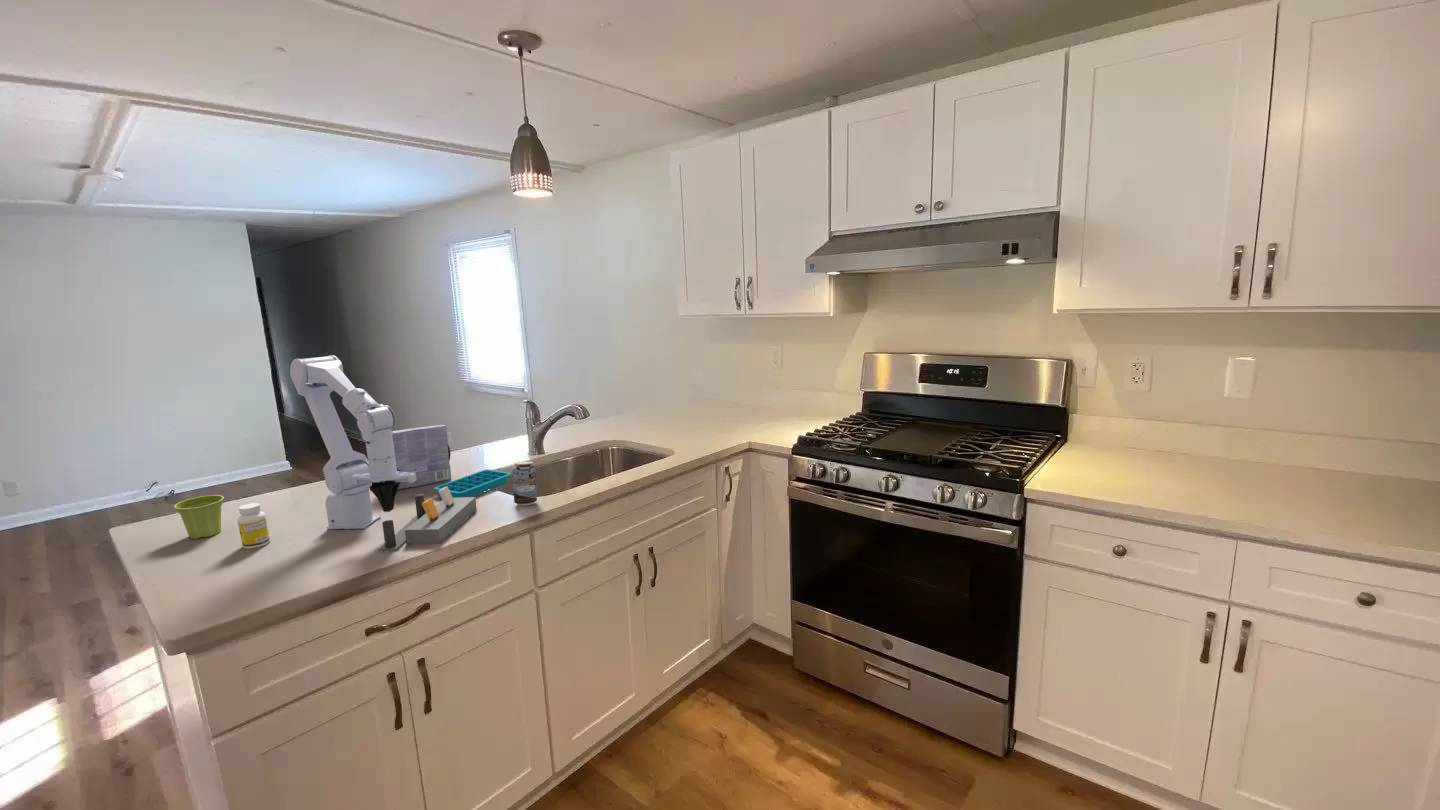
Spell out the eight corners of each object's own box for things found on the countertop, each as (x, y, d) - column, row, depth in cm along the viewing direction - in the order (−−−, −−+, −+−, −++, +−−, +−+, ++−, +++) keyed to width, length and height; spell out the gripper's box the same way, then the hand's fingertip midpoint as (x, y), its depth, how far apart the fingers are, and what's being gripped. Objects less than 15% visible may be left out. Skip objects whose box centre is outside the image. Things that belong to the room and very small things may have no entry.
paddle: (445, 508, 155) (438, 491, 154) (451, 504, 158) (443, 487, 157) (450, 507, 155) (442, 489, 154) (455, 502, 158) (447, 485, 157)
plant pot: (239, 528, 153) (233, 496, 151) (198, 543, 144) (192, 509, 143) (212, 525, 156) (206, 493, 154) (171, 540, 147) (164, 506, 145)
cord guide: (379, 552, 138) (375, 524, 136) (416, 518, 158) (413, 493, 157) (397, 551, 138) (393, 523, 137) (432, 517, 159) (429, 493, 157)
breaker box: (406, 543, 142) (404, 529, 141) (447, 509, 163) (445, 497, 163) (440, 543, 142) (438, 529, 141) (476, 509, 163) (475, 497, 163)
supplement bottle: (247, 542, 145) (240, 503, 143) (274, 538, 147) (267, 500, 145) (238, 551, 140) (231, 511, 138) (266, 547, 142) (259, 507, 140)
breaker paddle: (429, 521, 146) (421, 503, 145) (435, 516, 149) (427, 499, 148) (434, 520, 146) (425, 502, 145) (440, 515, 149) (431, 497, 148)
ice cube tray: (432, 498, 174) (431, 488, 174) (486, 478, 192) (485, 469, 191) (461, 503, 169) (460, 493, 169) (514, 482, 187) (513, 473, 186)
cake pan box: (451, 475, 194) (445, 422, 191) (455, 479, 190) (449, 424, 187) (384, 488, 182) (377, 432, 179) (388, 492, 178) (380, 435, 175)
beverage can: (513, 509, 163) (510, 467, 160) (515, 500, 170) (511, 459, 167) (538, 507, 164) (534, 465, 162) (538, 498, 171) (535, 457, 169)
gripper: (341, 462, 140) (349, 517, 143) (403, 461, 140) (410, 515, 143) (358, 454, 147) (366, 506, 150) (417, 452, 147) (424, 505, 150)
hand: (388, 510), depth 147 cm, fingers closed
